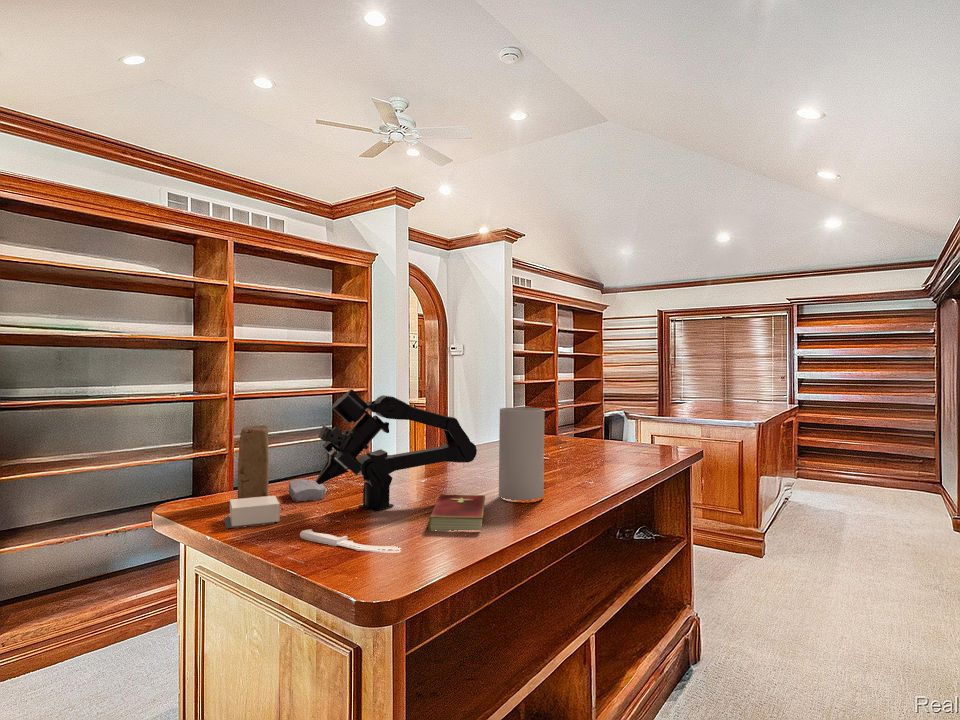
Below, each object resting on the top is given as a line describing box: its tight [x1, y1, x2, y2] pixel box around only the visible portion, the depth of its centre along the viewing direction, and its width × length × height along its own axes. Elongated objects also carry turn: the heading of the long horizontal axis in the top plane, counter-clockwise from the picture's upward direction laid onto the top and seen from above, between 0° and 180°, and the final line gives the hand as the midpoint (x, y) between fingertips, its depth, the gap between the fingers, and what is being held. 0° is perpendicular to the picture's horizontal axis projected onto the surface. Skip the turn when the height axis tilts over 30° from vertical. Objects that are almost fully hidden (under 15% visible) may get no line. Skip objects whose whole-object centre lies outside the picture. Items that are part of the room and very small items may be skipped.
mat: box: [223, 515, 275, 530], centre depth 126 cm, size 10×10×1 cm
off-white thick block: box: [229, 495, 281, 526], centre depth 127 cm, size 4×9×10 cm
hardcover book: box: [427, 493, 486, 532], centre depth 130 cm, size 12×21×4 cm, turn 178°
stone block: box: [288, 478, 328, 502], centre depth 152 cm, size 12×5×10 cm
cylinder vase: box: [498, 407, 545, 500], centre depth 153 cm, size 12×12×25 cm
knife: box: [299, 529, 402, 554], centre depth 111 cm, size 30×2×8 cm
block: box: [237, 425, 270, 499], centre depth 145 cm, size 11×8×20 cm
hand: (317, 483), depth 134 cm, fingers closed
